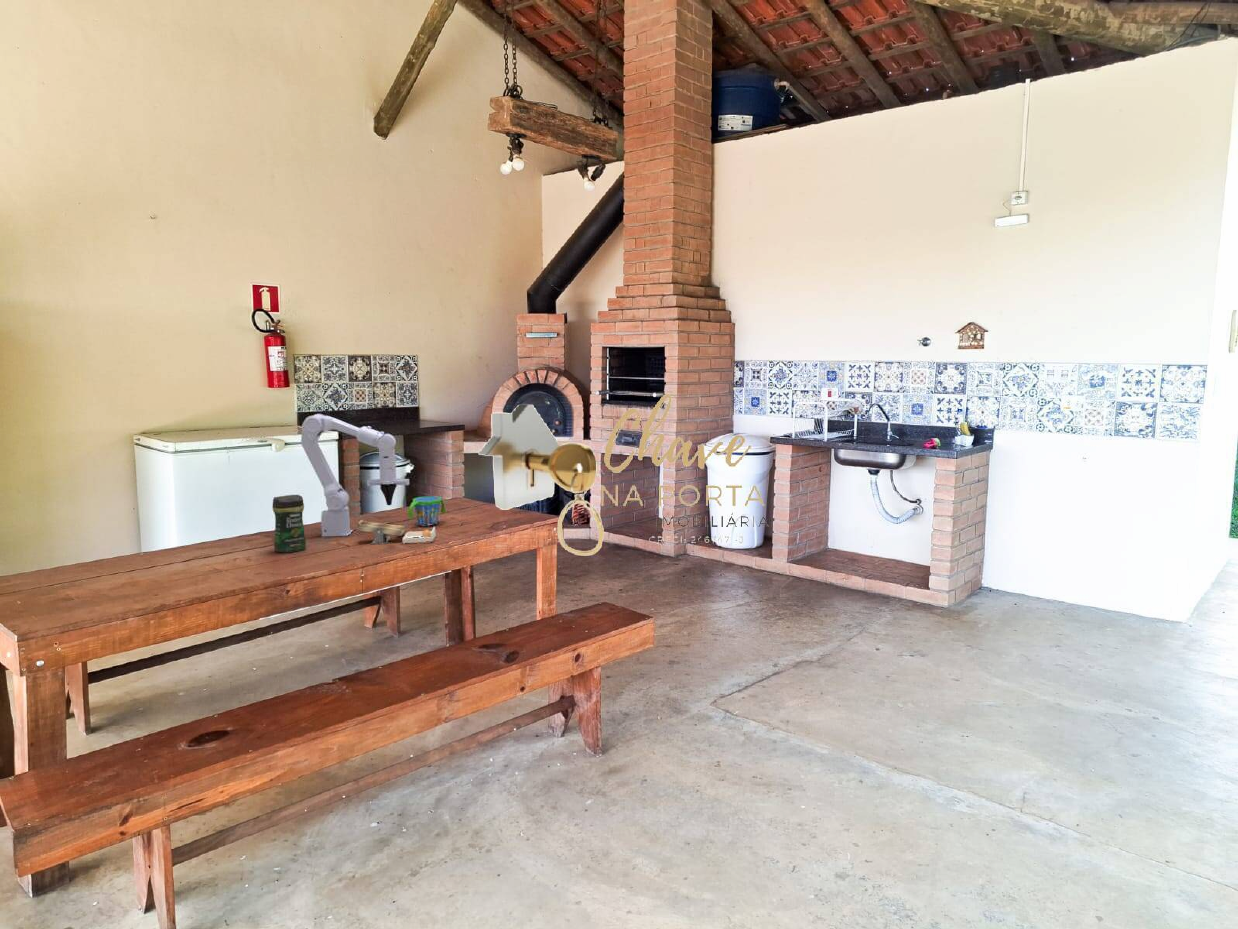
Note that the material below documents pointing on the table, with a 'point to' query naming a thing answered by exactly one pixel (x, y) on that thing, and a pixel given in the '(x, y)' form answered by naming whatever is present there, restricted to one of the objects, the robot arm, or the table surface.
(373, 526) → the lever
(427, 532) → the ball
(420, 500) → the snack cup
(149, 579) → the table surface
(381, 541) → the stand
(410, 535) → the dish
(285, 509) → the coffee jar
